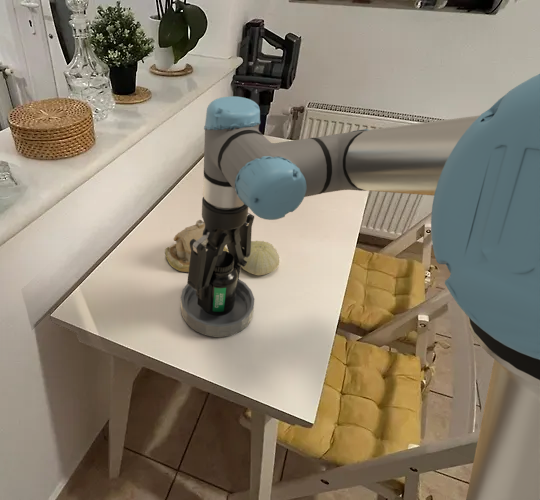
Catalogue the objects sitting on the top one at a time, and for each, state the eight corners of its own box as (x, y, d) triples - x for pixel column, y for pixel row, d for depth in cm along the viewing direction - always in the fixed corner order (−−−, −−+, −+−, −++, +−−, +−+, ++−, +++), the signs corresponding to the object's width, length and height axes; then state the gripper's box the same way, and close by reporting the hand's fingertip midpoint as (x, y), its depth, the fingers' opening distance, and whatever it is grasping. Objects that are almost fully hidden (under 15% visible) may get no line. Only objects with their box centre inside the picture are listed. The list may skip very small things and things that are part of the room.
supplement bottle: (224, 322, 81) (228, 276, 73) (193, 308, 84) (194, 262, 76) (240, 300, 86) (246, 254, 78) (210, 287, 88) (213, 241, 80)
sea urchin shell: (226, 260, 94) (244, 228, 94) (240, 266, 101) (256, 237, 101) (261, 280, 90) (280, 246, 89) (272, 285, 96) (290, 254, 96)
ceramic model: (210, 234, 104) (212, 199, 98) (237, 261, 97) (241, 225, 91) (159, 252, 99) (157, 217, 92) (183, 282, 92) (183, 246, 85)
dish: (266, 323, 83) (268, 310, 81) (201, 349, 78) (202, 336, 76) (229, 277, 93) (230, 265, 91) (169, 297, 88) (169, 285, 86)
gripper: (248, 168, 76) (237, 264, 91) (163, 211, 65) (166, 312, 80) (282, 185, 72) (265, 283, 87) (197, 234, 61) (194, 336, 76)
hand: (217, 297), depth 83 cm, fingers closed on supplement bottle, 7 cm apart
